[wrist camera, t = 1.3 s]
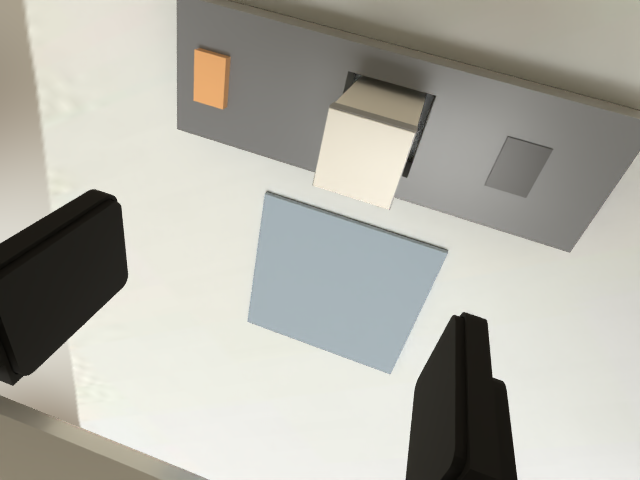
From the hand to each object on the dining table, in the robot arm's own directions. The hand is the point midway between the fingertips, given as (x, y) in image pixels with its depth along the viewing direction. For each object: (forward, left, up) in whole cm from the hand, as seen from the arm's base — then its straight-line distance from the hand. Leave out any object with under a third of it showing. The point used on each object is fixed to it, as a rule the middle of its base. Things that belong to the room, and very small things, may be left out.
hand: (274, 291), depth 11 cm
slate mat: (0, +15, -18) cm, 24 cm away
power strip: (0, 0, -18) cm, 18 cm away
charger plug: (0, 0, -18) cm, 18 cm away
